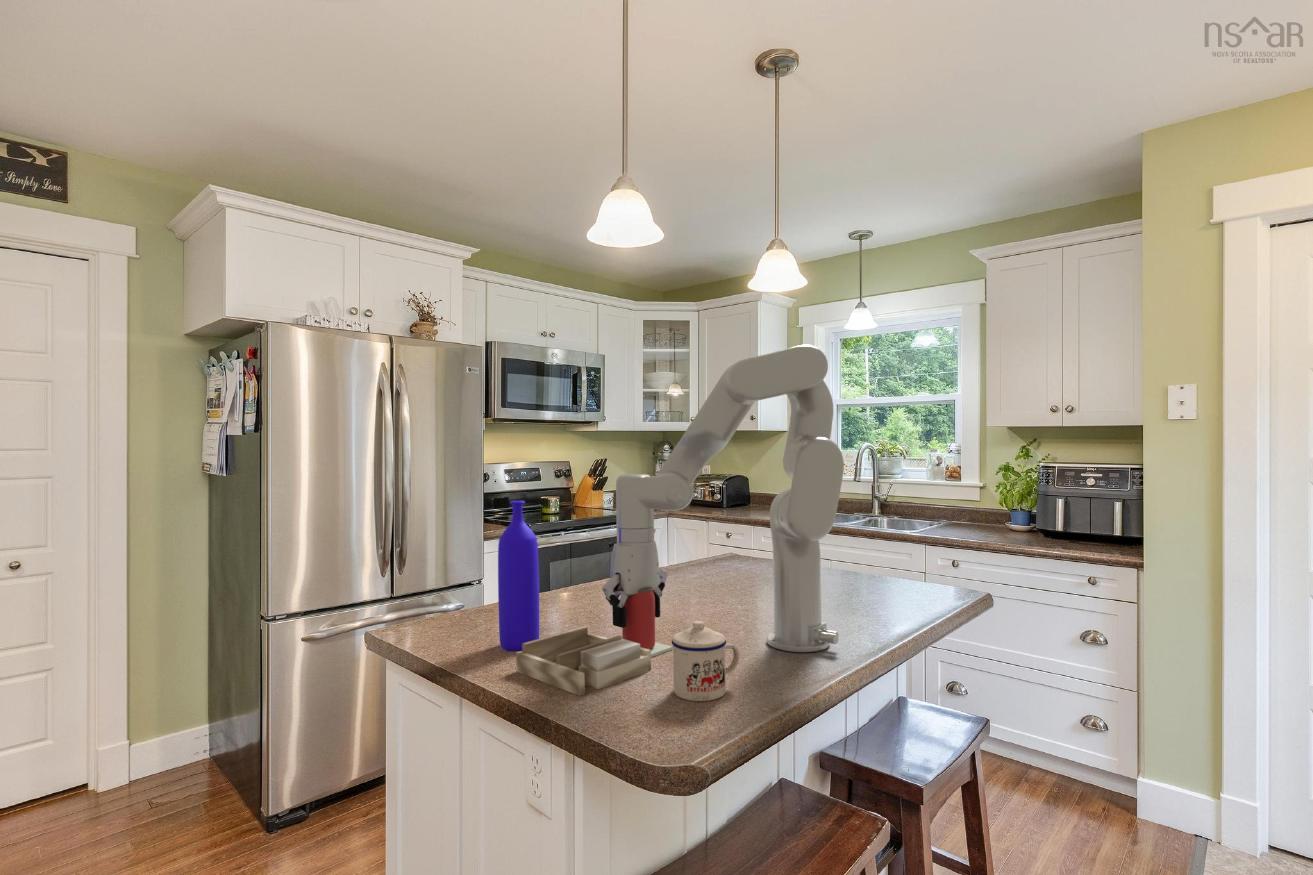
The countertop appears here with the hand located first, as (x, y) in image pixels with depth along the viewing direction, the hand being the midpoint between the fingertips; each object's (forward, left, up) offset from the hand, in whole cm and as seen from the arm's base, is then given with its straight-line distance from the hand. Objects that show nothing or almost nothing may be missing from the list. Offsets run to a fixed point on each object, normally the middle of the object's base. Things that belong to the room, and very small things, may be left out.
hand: (636, 621), depth 133 cm
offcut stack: (-7, +13, -6) cm, 16 cm away
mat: (0, 0, -6) cm, 6 cm away
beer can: (0, 0, -6) cm, 6 cm away
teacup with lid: (-24, +8, -6) cm, 26 cm away
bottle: (+21, +14, -6) cm, 26 cm away
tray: (0, +15, -6) cm, 16 cm away
